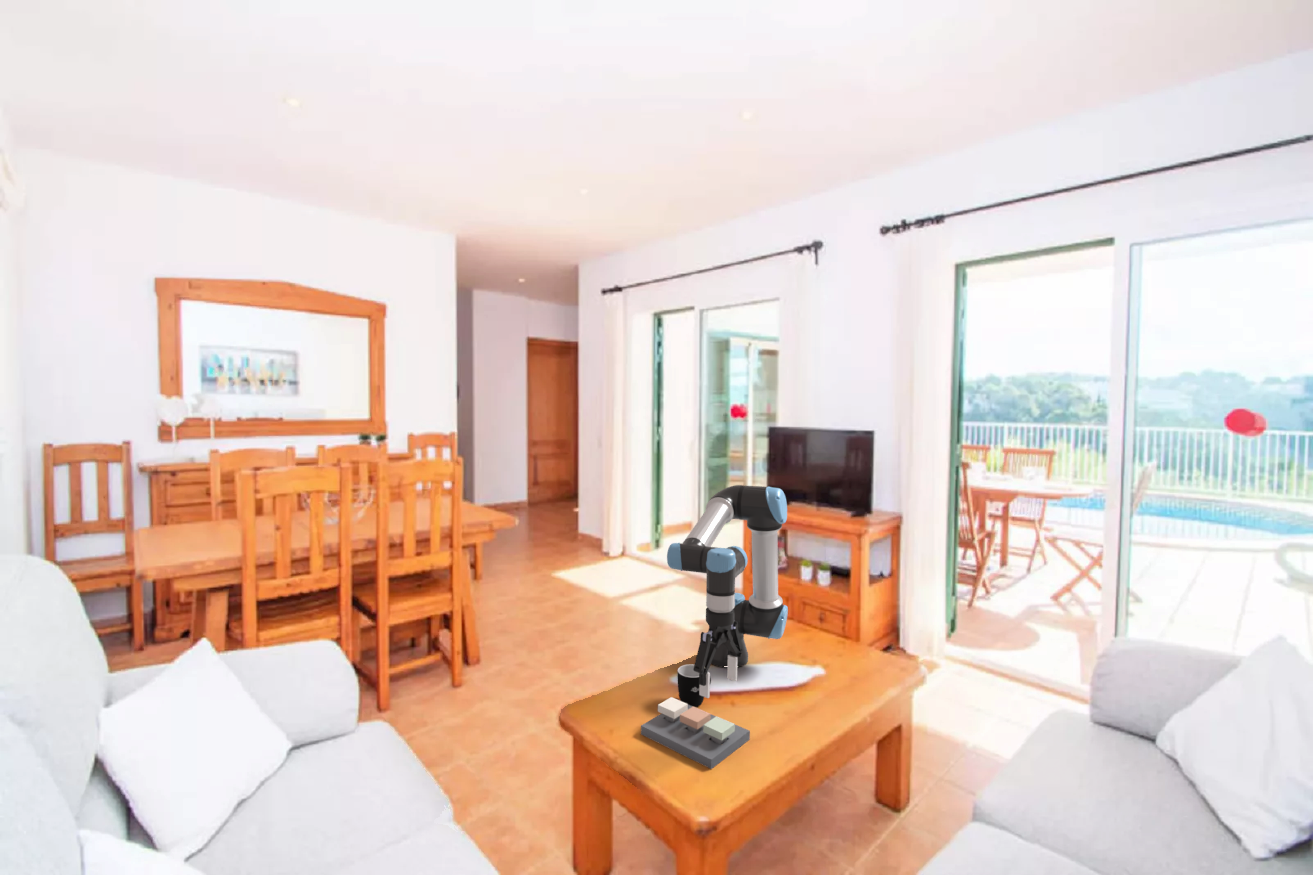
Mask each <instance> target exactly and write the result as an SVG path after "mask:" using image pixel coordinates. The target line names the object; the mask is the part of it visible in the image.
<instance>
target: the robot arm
mask: <svg viewBox="0 0 1313 875" xmlns="http://www.w3.org/2000/svg"><path fill="white" fill-rule="evenodd" d="M787 519H788V503H787V497H786V494H785V493H784V491H783V489H781V488H779V487H772V486H759V485H758V486H756V485H744V484H743V485H742V484H736V485H731V486H729V487H726V488H724V489H721V490H720V491H718V492H717V493H715V494H713V495H712V497H710V498H709V500H708V501H707V503H706V505H705V510H704V513H703V514H702V515H701V516H700V518H699V520H698V521H697V522H696V524H695V525H694V526H693V527H692V529H691V530H690V532H689V533H688V535H687V537H686V538H685V539H684V540H683V542H682V543H681V542H672V543H671V544H670V545H669V547H668V549H667V554H666V561H667V565H668V568H670V569H672V570H678V571H680V572H692V573H701V574H706V581H705V582H706V584H705V585H706V590H705V591H706V598H705V599H706V600H705V606H706V609H705V622H706V623H707V626H708V631H707V632H705V631H702V632H701V633H700V637H699V639H700V641H699V645H698V649H697V653H696V657H695V661H694V669H693V670H694V671H695V672H698V673H699V684H700V687H699V695H701V696H703V697H704V698H707V699H709V698H710V691H711V690H710V689H711V688H710V687H711V683H710V676H711V673H710V672H709V670H710V667H711V665H714V666H716V667H720V668H725V667H724V666H728V667H727V668H726V669H727V672H726V673H727V674H726V675H727V676H726V677H727V678H726V679H728V680H731V681H733V682H737V681H738V667H737V666H740V667H742V666H741V665H743V666H745V665H746V664H747V663H748V662H749V652H748V649H747V646H746V643H745V639H744V638H745V635H747V636H753V637H760V638H767V639H768V640H769V639H772V640H780V639H782V637H783V635H784V632H785V630H786V625H787V621H788V615H789V614H788V613H789V609H788V608H789V607H788V606H787V605H786V604H784V602H783V601H784V600H783V598H782V596H780V595H779V562H778V561H779V558H778V557H779V553H778V552H779V551H778V550H779V548H778V547H779V545H778V540H779V539H778V538H779V537H778V536H779V535H778V532H779V531H780V530H782V528H783V524H785V523H786V522H787ZM732 520H740V521H746V527H747V528H748V529H749V530H750V531H751V554H752V555H751V560H752V561H751V562H752V564H751V566H752V594H751V595H750V596H749V597H748V599H746V597H745V595H744V594H743V593H739V592H736V590H735V589H736V578H737V577H738V576H739V575H741V574H742V573H743V572H744V571H745V568H746V567H747V565H748V560H749V559H748V556H747V553H746V551H745V550H744V549H743V548H742V547H740V546H737V545H733V546H728V547H717V546H714V547H713V544H714V542H715V541H716V539H717V537H718V535H719V534H720V533H721V531H722V530H723V528H724V527H725V525H726V524H728V523H729V522H731V521H732Z"/></svg>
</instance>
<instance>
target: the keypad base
mask: <svg viewBox="0 0 1313 875" xmlns="http://www.w3.org/2000/svg"><path fill="white" fill-rule="evenodd" d="M691 707H693V706H690V705H688V709H690V708H691ZM710 714H711V713H710ZM715 717H716V715H714V714H711V718H710V720H712V719H713V718H715ZM703 726H704V725H703ZM687 727H688V725H686V724H684V723H682V722H680V720H678V721H677V722H675V723H672V722H670V721H668V720H665V715H664V714H662V713H659V714H658V715H656V716H655V717H653V718H652V719H649V720H648V721H647V722H644V723H643V724H641V725H640V735H641V736H644V737H646V738H647V739H649V740H651V741H653V742H655V743H658V744H659V745H662V746H664V747H666V748H668V749H670V750H672V751H674V752H676V753H678V754H680V755H681V756H684V757H686V758H688V759H690V760H692V761H694V762H695V763H698V764H699V765H702V766H704V767H706V768H708V769H710V770H713V769H714V768H715V767H716V766H717V765H719V764H720V763H721V762H723V761H724V760H725V759H726V758H728V757H729V756H730V755H731V754H733V753H734V752H736V751H737V750H738V749H740V748H741V747H742V746H743V745H745V744H746V743H747V742H748V741H750V739H751V738H750V737H751V736H750V735H751V730H749V729H746V728H744V727H742V726H740V725H737V724H735V731H734V732H733V733H732V734H730V735H729V736H728V737H727V741H725V742H724V743H723V744H721V745H720V744H718V743H716V742H713V741H711V735H709V734H706V733H704V732H703V730H701V731H700V732H698V733H697V734H696V733H694V732H692V731H689V730H687Z"/></svg>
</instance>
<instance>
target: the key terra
mask: <svg viewBox="0 0 1313 875" xmlns="http://www.w3.org/2000/svg"><path fill="white" fill-rule="evenodd" d="M710 718H711V713H710V712H707V711H705V710H703V709H701V708H698V707H694V706H693V707H691V708H690V709H688V710H687V711H685V712H683V713H682V714H680V722H682V723H684V724H686V725H688V727H687V730H689V731H692V732H694V733H696V734H697V733H698V732H700V731H701V730H703V725H704V724H706V723H707V722H709V721H710Z"/></svg>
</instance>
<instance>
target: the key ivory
mask: <svg viewBox="0 0 1313 875" xmlns="http://www.w3.org/2000/svg"><path fill="white" fill-rule="evenodd" d="M687 710H688V704H687V703H684V702H682V701H680V699H677V698H674V697H672V696H671V697H669V698H667V699H665V700H664V701H663V702H661V703H658V704H657V712H658V713H659V714H661V713H662V714H664V715H665V720H668V721H670V722H672V723H675V722H677V721H678V720H680V714H682V713H683V712H685V711H687Z"/></svg>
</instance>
